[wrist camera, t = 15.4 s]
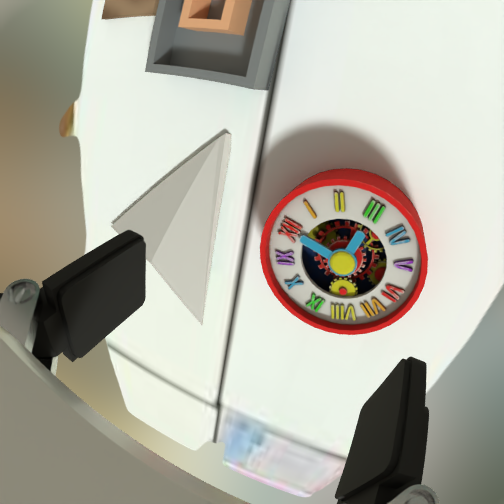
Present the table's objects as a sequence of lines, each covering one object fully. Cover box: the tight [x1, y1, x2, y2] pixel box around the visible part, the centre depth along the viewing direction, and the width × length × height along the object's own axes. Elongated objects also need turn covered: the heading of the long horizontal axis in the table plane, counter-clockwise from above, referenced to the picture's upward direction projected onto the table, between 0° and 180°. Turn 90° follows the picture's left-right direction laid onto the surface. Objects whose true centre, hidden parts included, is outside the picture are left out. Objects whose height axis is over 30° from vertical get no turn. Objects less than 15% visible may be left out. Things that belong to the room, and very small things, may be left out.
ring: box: [178, 0, 252, 36], centre depth 29 cm, size 7×7×4 cm
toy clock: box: [260, 168, 428, 335], centre depth 38 cm, size 20×6×20 cm
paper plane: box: [111, 133, 231, 325], centre depth 47 cm, size 26×28×4 cm
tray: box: [145, 0, 290, 90], centre depth 30 cm, size 20×16×4 cm
